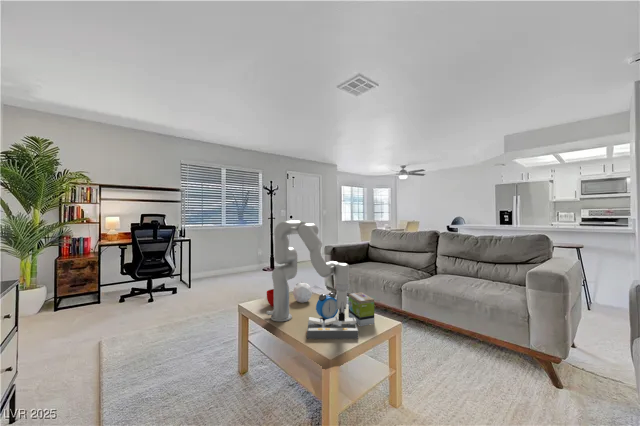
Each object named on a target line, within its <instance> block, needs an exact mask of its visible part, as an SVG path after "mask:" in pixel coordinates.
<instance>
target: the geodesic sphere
mask: <svg viewBox="0 0 640 426" xmlns="http://www.w3.org/2000/svg"><path fill="white" fill-rule="evenodd" d="M292 295H293V298H294V300H296V302H298V303H301V304H304V303H307V302H309V301H310V300H311V297H312V296H313V289H312V287H311V286H310V284H308V283H306V282H303V281H301V282H299V283H296V284H295V286H294V287H293V291H292Z"/></svg>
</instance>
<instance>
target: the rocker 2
mask: <svg viewBox="0 0 640 426" xmlns="http://www.w3.org/2000/svg"><path fill="white" fill-rule="evenodd" d="M324 321H325V325H328V324H332V323H336V322H339V316H335V317H334V318H330V319H325V320H324Z"/></svg>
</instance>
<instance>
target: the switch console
mask: <svg viewBox="0 0 640 426" xmlns="http://www.w3.org/2000/svg"><path fill="white" fill-rule="evenodd" d="M306 332H307V337H306V338H307V340H309V339H310V340H313V339H314V340H315V339H316V340H330V339H331V340H333V339H334V340H349V339H350V340H351V339H352V340H359V329H358V326H357V323H349V324H342V321H339V322H336V323H332V324H328V325H325V320H323V323H322V325H321V324H315V323H310V322H309V320H308V321H307V331H306Z"/></svg>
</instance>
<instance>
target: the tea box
mask: <svg viewBox="0 0 640 426" xmlns="http://www.w3.org/2000/svg"><path fill="white" fill-rule="evenodd" d="M347 301H348V318H354V317H355V319H356V325H358V326H359V327H363V326H369V324H371V325H375V298H373V297H371V296H369V295H368V294H365V293H364V292H356V293H355V292H353V293H347Z"/></svg>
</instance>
